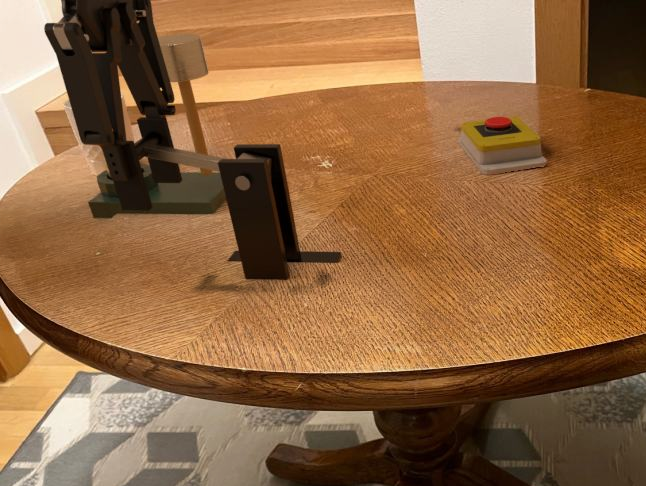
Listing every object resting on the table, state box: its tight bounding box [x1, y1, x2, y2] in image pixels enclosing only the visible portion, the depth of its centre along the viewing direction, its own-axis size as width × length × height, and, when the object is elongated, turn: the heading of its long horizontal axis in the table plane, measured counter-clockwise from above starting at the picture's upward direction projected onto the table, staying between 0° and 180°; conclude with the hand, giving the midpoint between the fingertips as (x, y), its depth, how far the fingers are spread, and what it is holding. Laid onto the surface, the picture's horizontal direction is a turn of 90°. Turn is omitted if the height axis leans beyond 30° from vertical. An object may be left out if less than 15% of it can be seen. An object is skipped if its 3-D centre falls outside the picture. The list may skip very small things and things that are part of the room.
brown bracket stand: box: [218, 143, 343, 281], centre depth 73 cm, size 12×9×14 cm
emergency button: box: [457, 115, 548, 176], centre depth 104 cm, size 9×4×15 cm
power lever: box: [134, 132, 272, 178], centre depth 70 cm, size 13×6×2 cm, turn 83°
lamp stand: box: [157, 33, 213, 175], centre depth 88 cm, size 6×6×16 cm
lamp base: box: [87, 163, 227, 219], centre depth 94 cm, size 16×10×4 cm, turn 84°
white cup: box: [62, 93, 136, 177], centre depth 104 cm, size 8×8×10 cm
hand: (153, 194), depth 73 cm, fingers closed on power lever, 6 cm apart
